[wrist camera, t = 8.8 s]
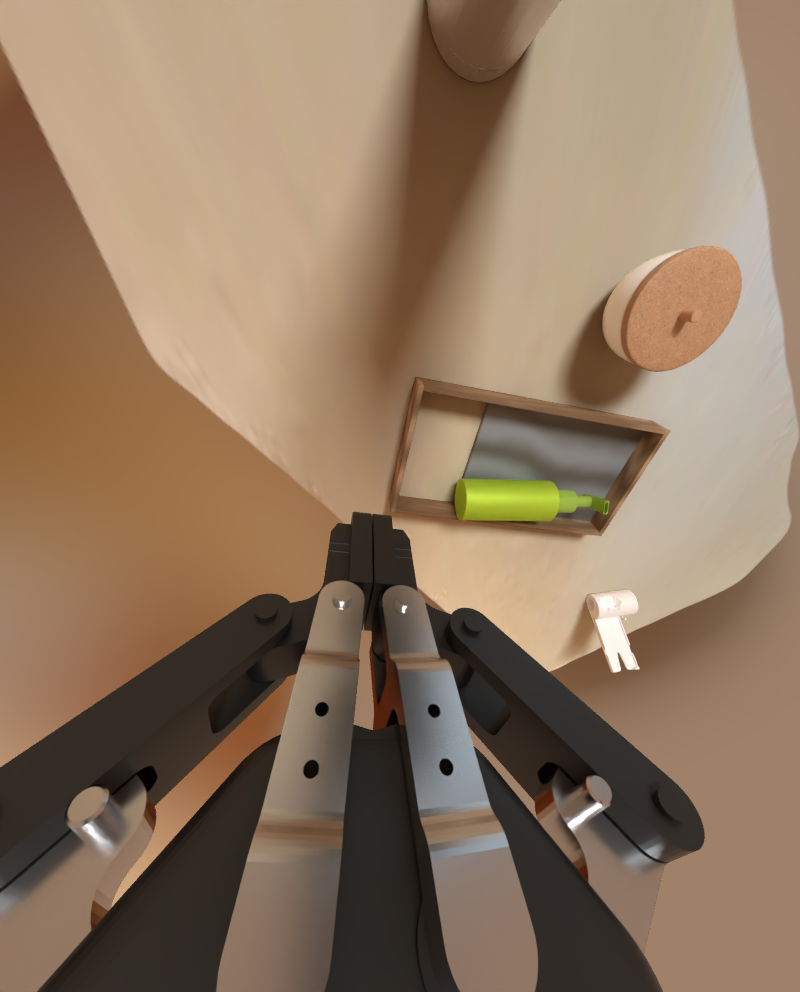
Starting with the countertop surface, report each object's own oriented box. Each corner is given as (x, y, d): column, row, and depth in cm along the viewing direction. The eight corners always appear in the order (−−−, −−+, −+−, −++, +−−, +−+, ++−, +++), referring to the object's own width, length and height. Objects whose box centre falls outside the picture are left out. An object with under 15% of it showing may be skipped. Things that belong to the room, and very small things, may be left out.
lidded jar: (681, 230, 36) (769, 218, 28) (678, 332, 41) (751, 346, 33) (579, 280, 37) (634, 282, 30) (590, 371, 43) (639, 393, 35)
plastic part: (626, 585, 67) (670, 637, 57) (614, 617, 72) (652, 670, 63) (588, 590, 67) (626, 643, 57) (579, 621, 72) (612, 675, 63)
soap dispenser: (470, 483, 43) (615, 486, 46) (456, 475, 50) (583, 478, 52) (466, 527, 45) (608, 528, 47) (453, 514, 51) (577, 515, 53)
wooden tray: (415, 376, 42) (419, 384, 39) (652, 420, 47) (670, 430, 44) (389, 498, 51) (390, 511, 48) (589, 522, 57) (601, 535, 54)
